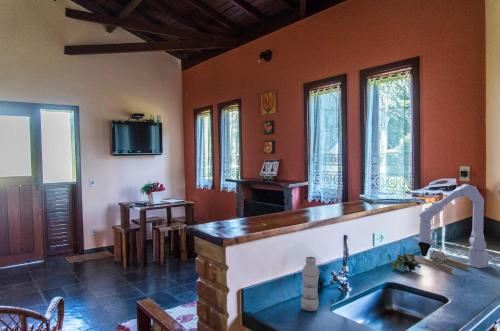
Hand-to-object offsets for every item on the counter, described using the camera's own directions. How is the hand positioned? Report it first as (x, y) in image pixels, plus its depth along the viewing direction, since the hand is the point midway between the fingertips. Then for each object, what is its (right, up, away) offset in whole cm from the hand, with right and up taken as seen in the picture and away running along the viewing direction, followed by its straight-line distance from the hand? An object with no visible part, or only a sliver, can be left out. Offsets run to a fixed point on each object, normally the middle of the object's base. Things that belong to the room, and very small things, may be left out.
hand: (424, 255), depth 206 cm
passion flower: (-19, -3, -20) cm, 28 cm away
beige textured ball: (+4, -3, -8) cm, 10 cm away
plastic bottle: (-75, -5, -66) cm, 100 cm away
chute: (+4, -3, -9) cm, 10 cm away
